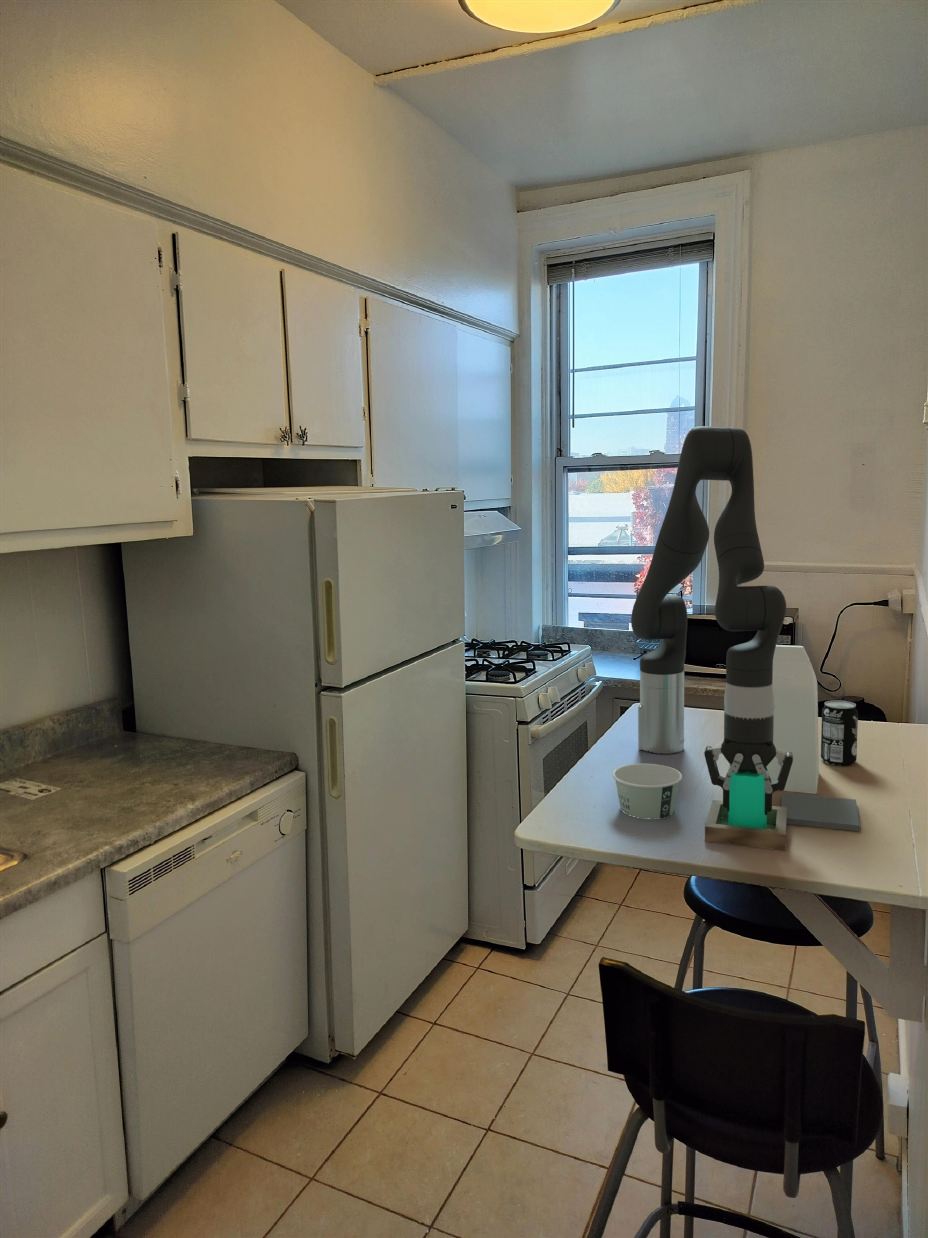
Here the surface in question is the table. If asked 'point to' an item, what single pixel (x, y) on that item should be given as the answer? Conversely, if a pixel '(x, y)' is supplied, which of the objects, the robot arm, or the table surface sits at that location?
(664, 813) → the food container
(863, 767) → the table surface
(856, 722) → the beverage can
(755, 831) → the open wooden box
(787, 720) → the milk
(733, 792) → the candle
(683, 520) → the robot arm
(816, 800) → the plate
